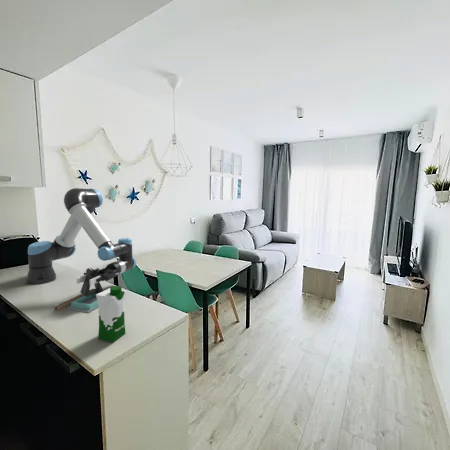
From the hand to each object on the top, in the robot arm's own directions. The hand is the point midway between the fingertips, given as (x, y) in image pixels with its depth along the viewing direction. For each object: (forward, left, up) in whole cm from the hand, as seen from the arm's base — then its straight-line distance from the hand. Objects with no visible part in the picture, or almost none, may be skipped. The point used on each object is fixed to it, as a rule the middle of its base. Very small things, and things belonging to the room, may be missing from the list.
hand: (83, 281), depth 122 cm
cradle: (0, +5, -13) cm, 14 cm away
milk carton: (+29, -17, -13) cm, 36 cm away
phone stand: (0, +5, -7) cm, 9 cm away
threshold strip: (-9, +5, -13) cm, 16 cm away
